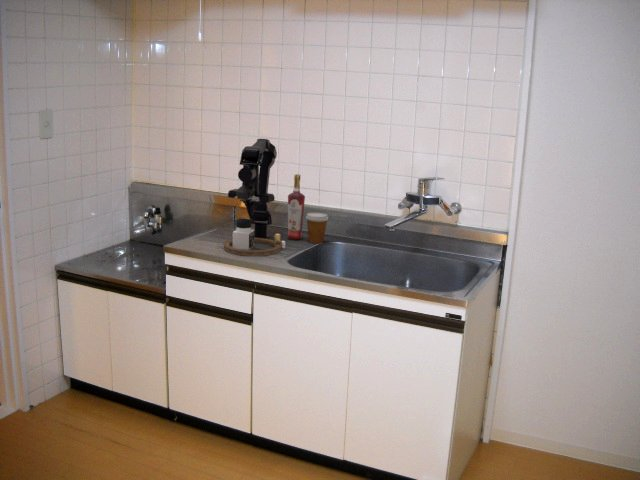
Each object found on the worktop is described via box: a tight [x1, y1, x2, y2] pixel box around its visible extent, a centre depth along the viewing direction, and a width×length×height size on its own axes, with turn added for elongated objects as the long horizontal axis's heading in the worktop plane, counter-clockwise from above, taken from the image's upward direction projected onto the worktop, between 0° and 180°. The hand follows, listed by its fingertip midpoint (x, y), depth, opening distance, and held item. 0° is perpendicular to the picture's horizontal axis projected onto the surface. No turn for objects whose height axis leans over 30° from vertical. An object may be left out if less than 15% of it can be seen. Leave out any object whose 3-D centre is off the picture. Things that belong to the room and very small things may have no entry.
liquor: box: [286, 173, 306, 241], centre depth 313 cm, size 7×7×28 cm
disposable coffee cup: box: [305, 211, 329, 245], centre depth 311 cm, size 10×10×12 cm
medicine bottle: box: [231, 217, 255, 251], centre depth 296 cm, size 7×7×12 cm
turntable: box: [222, 233, 282, 257], centre depth 296 cm, size 23×23×6 cm
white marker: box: [280, 240, 286, 249], centre depth 300 cm, size 1×2×2 cm, turn 18°
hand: (250, 216), depth 294 cm, fingers closed
